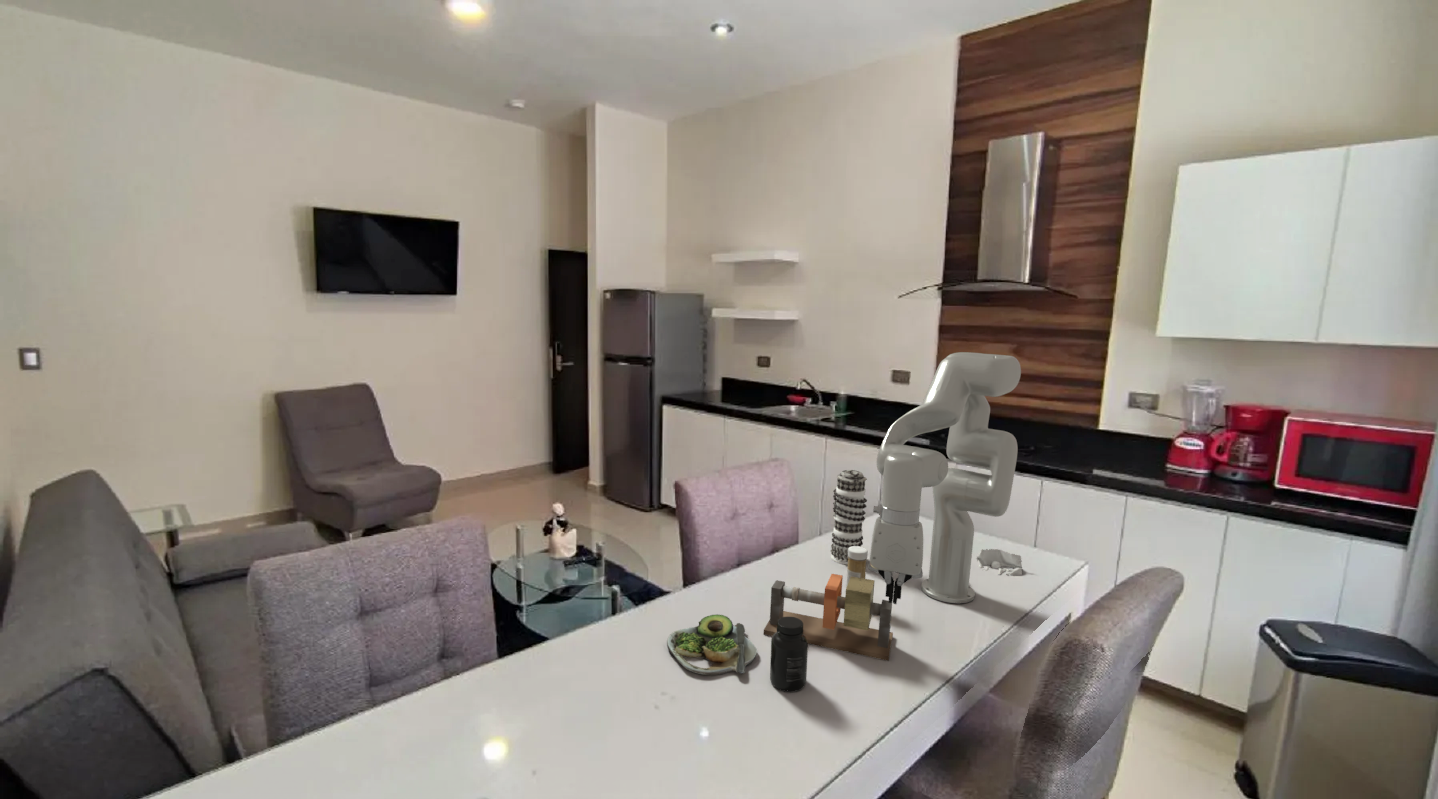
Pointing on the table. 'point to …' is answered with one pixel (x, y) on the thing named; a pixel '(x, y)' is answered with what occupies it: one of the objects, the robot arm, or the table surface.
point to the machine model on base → (841, 636)
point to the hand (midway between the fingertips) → (892, 600)
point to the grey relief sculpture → (1000, 561)
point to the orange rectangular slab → (832, 601)
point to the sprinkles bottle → (856, 562)
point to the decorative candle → (848, 514)
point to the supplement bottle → (789, 655)
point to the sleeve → (858, 603)
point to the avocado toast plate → (713, 646)
